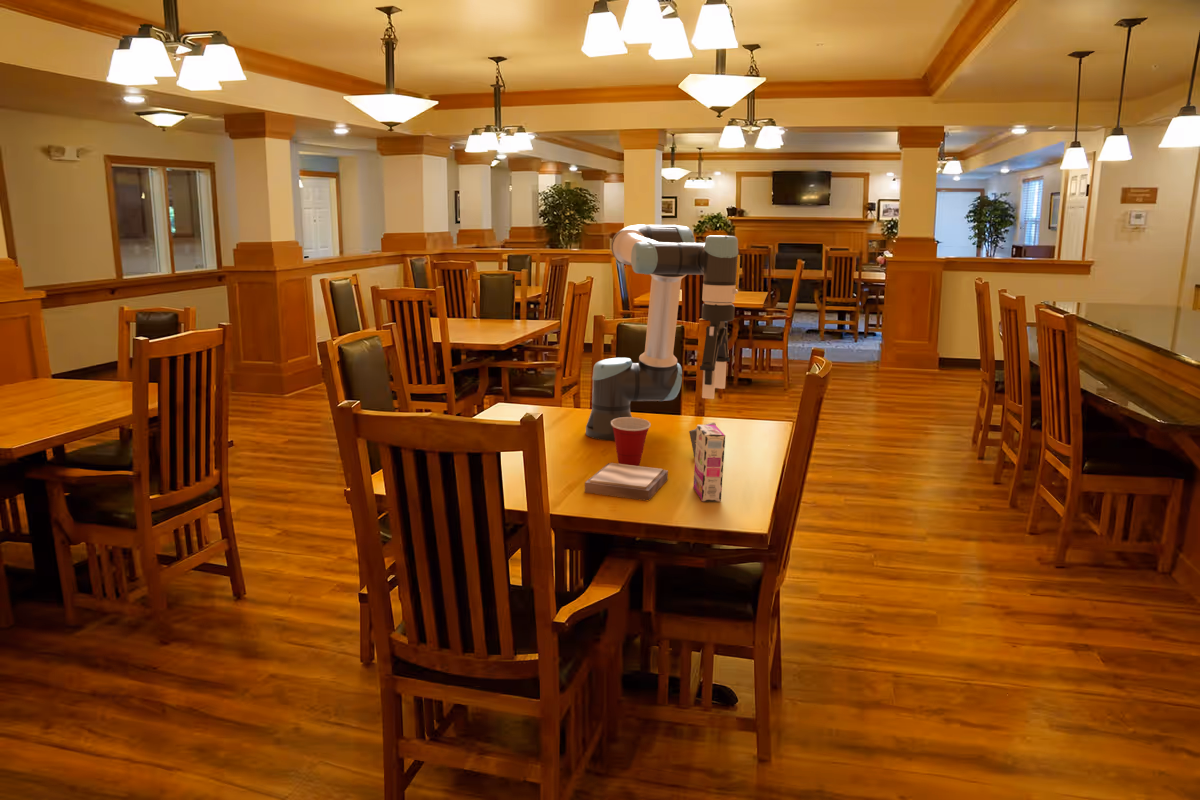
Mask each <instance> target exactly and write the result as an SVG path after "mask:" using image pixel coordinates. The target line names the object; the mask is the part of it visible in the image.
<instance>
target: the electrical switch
mask: <svg viewBox="0 0 1200 800" xmlns="http://www.w3.org/2000/svg"><path fill="white" fill-rule="evenodd" d="M705 425H716V422H710V423H706V424H705ZM716 426H717V425H716ZM688 434H689V437H690V442H691V448H692V453H693V457H695V451H696V436H697V427H695V428H694V429H691V430H689V431H688Z"/></svg>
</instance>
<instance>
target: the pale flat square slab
mask: <svg viewBox="0 0 1200 800" xmlns="http://www.w3.org/2000/svg"><path fill="white" fill-rule="evenodd" d="M668 475H669V470H668V469H667V470H666V469H664V468H658V467H648V466H640V465H639V466H634V465H625V464H619V463H614V462H608V463H607V464H605V466H603V467H602V468H601V469H599V470H598V471H597V472H596V473H594V475H592V476H591V477H590V478H588V479H587V480H586V481H585V482H584V493H586V494H593V493H595V494H594V495H601V494H602V495H603V496H608V495H610V497H616V496H617V497H616V498H624V497H625V498H626V499H631V498H632V499H633V500H639V499H640V501H646V500H649V499H652V497H653V496H654V495H656V493H657V492H658V491H659V490H660V489H661V488H662V487H663V485H665V483H666V482H667V481H668V480H669V479H668V477H669V476H668ZM659 488H660V489H659ZM658 489H659V490H658ZM602 495H601V496H602ZM625 498H624V499H625ZM649 501H650V500H649Z"/></svg>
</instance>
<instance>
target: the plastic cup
mask: <svg viewBox="0 0 1200 800" xmlns="http://www.w3.org/2000/svg"><path fill="white" fill-rule="evenodd" d="M611 425H612V428H613V431H614V437H615V440H614V442H615V443H614V444H615V451H616V455H617V462H618V464H625V465H634V466H640V464H641V461H642V455H643V452H644V449H645V443H646V438H647V435H648V432H649V429H650V428H651V422H650V421H649V420H647V419H644V418H640V417H634V416H632V417H621V418H616V419H613V420H612V421H611Z"/></svg>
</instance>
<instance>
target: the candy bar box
mask: <svg viewBox="0 0 1200 800" xmlns="http://www.w3.org/2000/svg"><path fill="white" fill-rule="evenodd" d="M696 428H697V436H696V451H695V450H694V451H695V458H694V469H693V470H694V471H693V486H692V487H693V490H694V491H695V493H696V494H697V496H698V497H699V499H700V501H701V502H704V503H705V502H706V503H711V502H712V503H718V502H719V503H721V502H722V491H723V475H724V462H725V459H724V458H725V447H726V435H725V433H724V432H722V431H721V429H720V427H718V426H717V425H706V424H697V425H696Z"/></svg>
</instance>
